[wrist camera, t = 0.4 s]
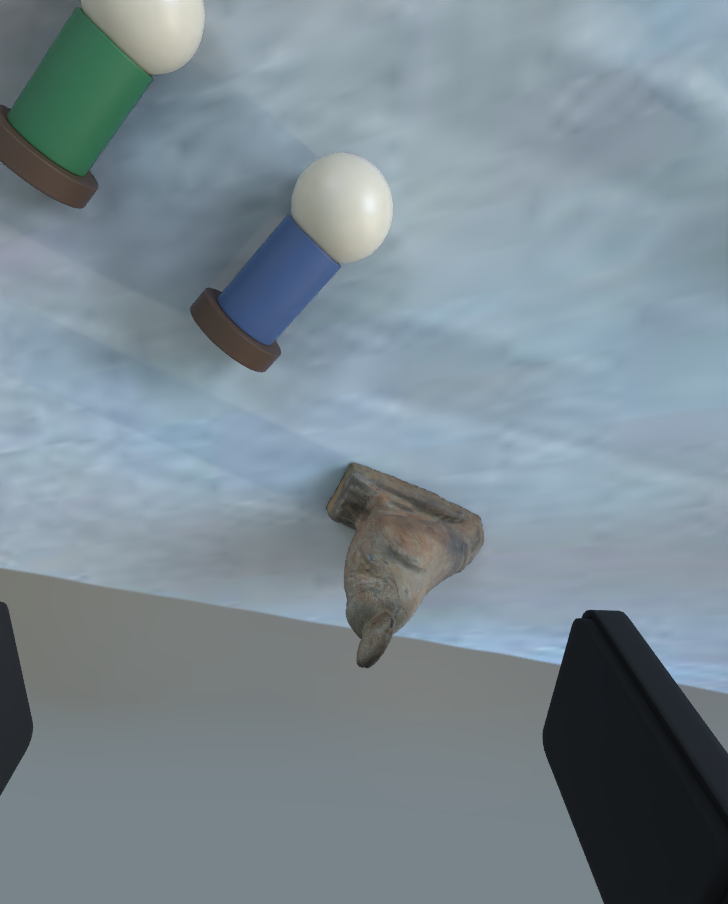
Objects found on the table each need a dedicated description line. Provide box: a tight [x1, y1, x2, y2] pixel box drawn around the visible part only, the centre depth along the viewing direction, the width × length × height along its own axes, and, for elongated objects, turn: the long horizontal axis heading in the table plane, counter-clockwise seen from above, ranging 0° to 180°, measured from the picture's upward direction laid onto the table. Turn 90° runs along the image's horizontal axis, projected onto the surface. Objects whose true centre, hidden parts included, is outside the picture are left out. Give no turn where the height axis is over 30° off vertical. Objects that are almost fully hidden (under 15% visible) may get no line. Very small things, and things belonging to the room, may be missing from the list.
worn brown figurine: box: [326, 463, 484, 668], centre depth 35 cm, size 12×6×18 cm, turn 58°
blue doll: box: [190, 152, 393, 372], centre depth 32 cm, size 13×6×6 cm, turn 136°
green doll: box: [0, 0, 205, 209], centre depth 27 cm, size 13×6×6 cm, turn 136°
